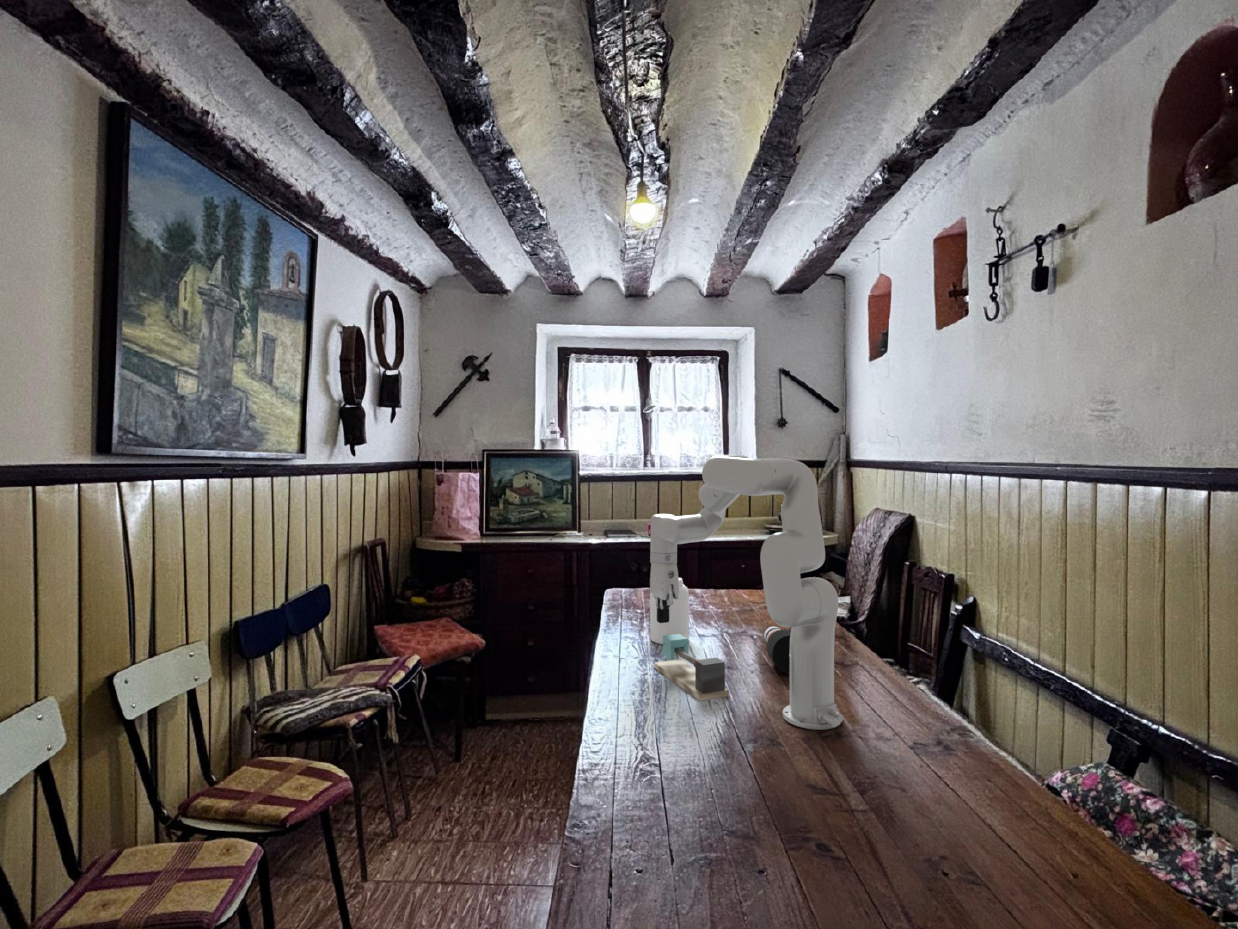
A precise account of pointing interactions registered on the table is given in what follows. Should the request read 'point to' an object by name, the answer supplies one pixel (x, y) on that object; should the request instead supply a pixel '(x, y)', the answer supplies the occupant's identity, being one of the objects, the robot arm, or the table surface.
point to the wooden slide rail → (696, 675)
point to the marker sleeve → (674, 644)
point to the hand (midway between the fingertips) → (663, 622)
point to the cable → (778, 647)
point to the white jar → (671, 616)
